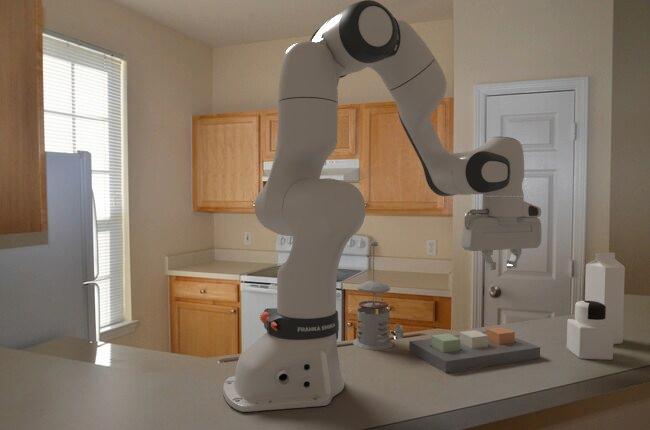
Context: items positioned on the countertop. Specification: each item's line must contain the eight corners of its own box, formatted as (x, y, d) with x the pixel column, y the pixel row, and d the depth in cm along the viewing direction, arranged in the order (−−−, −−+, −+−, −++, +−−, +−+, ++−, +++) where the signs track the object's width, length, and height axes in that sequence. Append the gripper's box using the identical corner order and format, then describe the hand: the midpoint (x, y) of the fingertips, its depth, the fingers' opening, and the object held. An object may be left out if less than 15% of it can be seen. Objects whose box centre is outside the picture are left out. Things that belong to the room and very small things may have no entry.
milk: (622, 343, 115) (626, 254, 114) (602, 345, 114) (606, 254, 113) (601, 336, 121) (605, 250, 120) (582, 338, 119) (586, 251, 118)
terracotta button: (499, 345, 107) (499, 334, 106) (485, 339, 111) (486, 328, 111) (514, 343, 108) (514, 332, 108) (500, 337, 112) (501, 326, 112)
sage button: (443, 353, 101) (443, 341, 101) (431, 347, 105) (431, 335, 105) (460, 350, 103) (460, 339, 103) (448, 344, 107) (448, 333, 107)
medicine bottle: (597, 349, 111) (599, 299, 110) (613, 360, 104) (615, 306, 103) (566, 348, 111) (567, 298, 111) (579, 359, 104) (580, 305, 104)
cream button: (471, 349, 104) (472, 337, 104) (459, 343, 108) (459, 332, 108) (488, 346, 105) (488, 335, 105) (475, 341, 110) (475, 330, 109)
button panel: (445, 373, 96) (445, 361, 96) (409, 351, 109) (409, 341, 109) (539, 357, 105) (540, 347, 105) (495, 339, 118) (496, 330, 118)
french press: (348, 347, 112) (348, 242, 110) (360, 333, 123) (361, 237, 121) (389, 352, 108) (390, 243, 107) (398, 337, 119) (399, 239, 118)
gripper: (474, 209, 101) (473, 273, 102) (547, 209, 109) (545, 268, 109) (456, 208, 107) (455, 269, 108) (526, 208, 115) (524, 264, 115)
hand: (501, 268), depth 109 cm, fingers open, 5 cm apart
